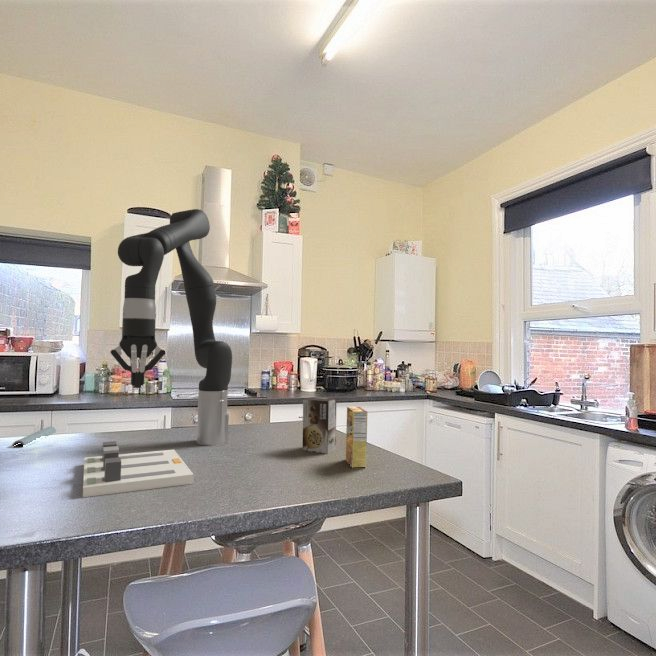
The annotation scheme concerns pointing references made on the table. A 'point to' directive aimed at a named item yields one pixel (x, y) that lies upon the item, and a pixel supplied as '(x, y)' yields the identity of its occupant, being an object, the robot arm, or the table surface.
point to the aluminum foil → (35, 436)
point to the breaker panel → (134, 472)
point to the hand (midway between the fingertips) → (137, 387)
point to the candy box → (356, 436)
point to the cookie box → (319, 424)
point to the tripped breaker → (110, 453)
